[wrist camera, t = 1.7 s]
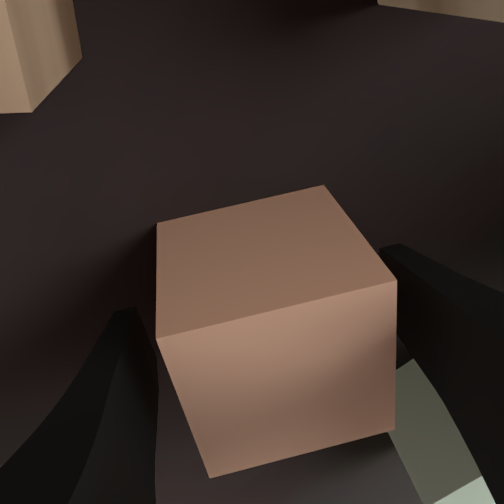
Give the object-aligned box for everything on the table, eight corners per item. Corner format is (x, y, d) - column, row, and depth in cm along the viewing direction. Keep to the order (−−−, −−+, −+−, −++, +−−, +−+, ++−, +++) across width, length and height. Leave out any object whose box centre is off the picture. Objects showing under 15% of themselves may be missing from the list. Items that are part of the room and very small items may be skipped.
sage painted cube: (471, 318, 18) (568, 426, 13) (514, 377, 20) (607, 484, 16) (365, 387, 19) (425, 508, 14) (419, 435, 21) (483, 550, 17)
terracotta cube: (323, 183, 13) (397, 279, 9) (333, 310, 16) (394, 429, 12) (157, 221, 13) (155, 339, 9) (196, 344, 16) (209, 478, 12)
